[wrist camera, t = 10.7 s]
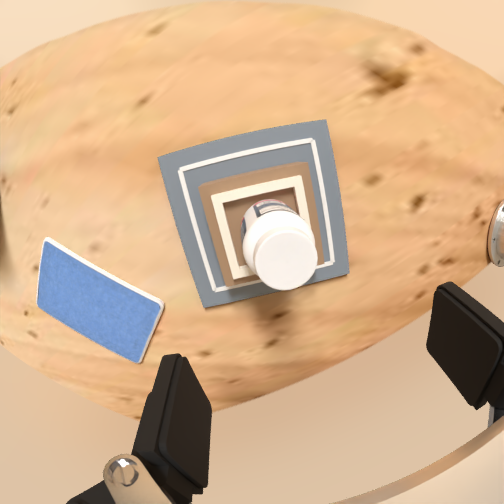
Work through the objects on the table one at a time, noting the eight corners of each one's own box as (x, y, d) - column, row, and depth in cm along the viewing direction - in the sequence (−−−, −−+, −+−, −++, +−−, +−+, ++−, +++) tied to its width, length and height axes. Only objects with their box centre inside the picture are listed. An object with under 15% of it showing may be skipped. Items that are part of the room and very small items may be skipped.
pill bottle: (271, 264, 26) (287, 314, 18) (228, 231, 25) (225, 269, 17) (308, 222, 25) (343, 256, 17) (266, 186, 24) (283, 202, 16)
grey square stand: (323, 120, 26) (342, 113, 21) (347, 270, 32) (365, 291, 27) (159, 157, 27) (142, 157, 22) (204, 304, 33) (199, 331, 28)
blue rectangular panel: (38, 302, 32) (34, 306, 31) (47, 232, 29) (42, 235, 28) (141, 361, 36) (139, 366, 35) (168, 298, 33) (165, 304, 32)
